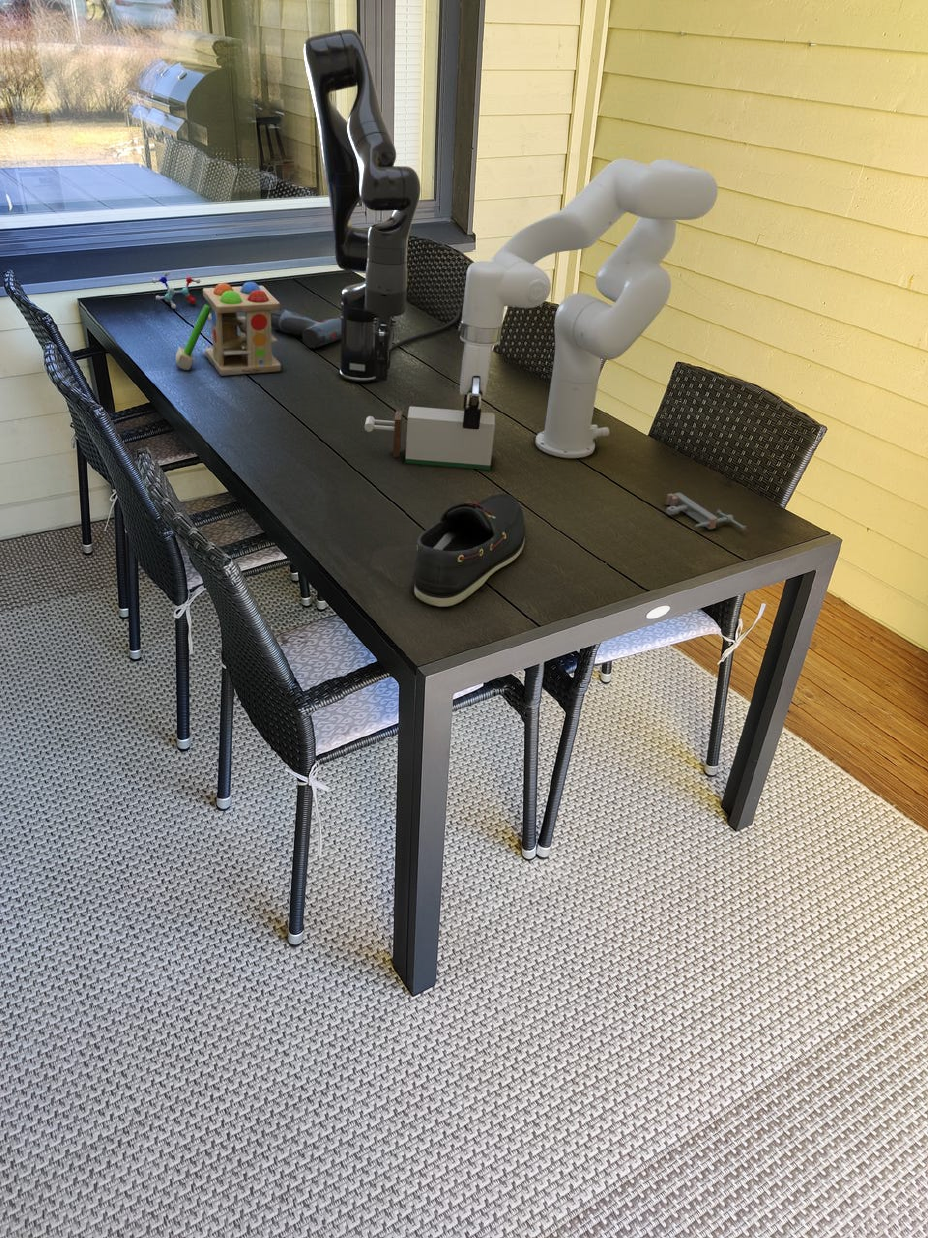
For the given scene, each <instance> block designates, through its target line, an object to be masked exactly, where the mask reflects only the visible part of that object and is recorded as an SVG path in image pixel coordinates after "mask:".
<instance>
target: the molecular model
mask: <svg viewBox="0 0 928 1238" xmlns="http://www.w3.org/2000/svg"><path fill="white" fill-rule="evenodd" d="M163 273H164V275H163V276H161V277H160V278H158V279H156V278H151V282H152V283H153V284H156V283H162V284H164V286H165V287H166V289H167V292H166V294H165V295H163V296H160V295H156V296H155V300H156V301H160V300H165V302H167V303H170V305H171V309H173V310H176V308H177V305H176V304H175V303H174V302H173V300H172V299H173V297H174V296H175V295H176V294H182V295H183V296H185V297H186V298H187V299H188V301H189V303H190V304H191V305H194V304H196V298H194V297H192V295H191V294H190V293H189V289H188V288H189V285H190V284H191V283H196V284H200V283H201V279H200V278H196V279H193V278H192V277H190V276H188V277H186V279H185V281H186V284H185V286H184V287H183V288H181V290H175V289H174V287H170V286H169V284H168V278H167V277H168V276H169V275H170V271H168V270H165V271H163Z"/></svg>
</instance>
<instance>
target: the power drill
mask: <svg viewBox="0 0 928 1238" xmlns="http://www.w3.org/2000/svg"><path fill="white" fill-rule="evenodd" d="M271 328H274V329H276V330H278V331H281V332H284V333H288V334H290V335H296V336H300V337H302V341H303V343H304V344H305V346H306V347H308V348H309V349H316V348H319V347H322V346H325V345H328V344H330V343H333V342H336V341H338V340H341V317H338V318H331V319H324V320H322V321H320V322H319V321H316V320H314V319H312V318H309V317H306V316H304V315H302V314H300V313H297V312H293V311H291V310H288V309H283V308H280V310H271Z"/></svg>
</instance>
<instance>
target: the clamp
mask: <svg viewBox="0 0 928 1238" xmlns="http://www.w3.org/2000/svg"><path fill="white" fill-rule="evenodd" d="M665 505H666V506H667V507H666V509H665V513H666V514H667V515H669V516H673V515H677V514H679V513H680V512H683V513H684V514H685V515H687V516H689V517H690V518H692V519H693V520H695V521H696V522H697V524H695V525H694V527H695V528H703V527H704V528H706V529H708V530H713V529H716V528H717V527H716V525H717V524H719V523H732V524H734V525H736V526H737V527H739V528H740V529H741V531H742V532H743V531H746V529H747V526H746V525H742V524H741V523H739V522H738V521H736V520H735V519H734V516H733V515H732V514H725V513H723V512H722V510H721V509H718V510H717V511H716V515H720V516H721V517H720V518H719V517H717V516H716V515H714V514H712V512H710V511H709V510H707V509H705V508H704V507H702V506H701V505H699V504H698V503H697V502H695V501H693V500H692V499H690V498H689V497H688V496H685V495H684V494H683V493H681V492H675V493H667V496H666V500H665Z"/></svg>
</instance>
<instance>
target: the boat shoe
mask: <svg viewBox="0 0 928 1238" xmlns="http://www.w3.org/2000/svg"><path fill="white" fill-rule="evenodd" d="M523 511H524V510H523V507H521V505H520V503H519V501H518V500H517V499H516V497H514V496H513V495H511V494H508V493H496V494H493V495H490V496H487V497H485V498H483V499H481V500H480V501H478V502H472V501H467V502H465V501H462V502H459V503H456V504H454V505H452V506H450V507H448V508H447V509H446V510H445V511H444V512H443V513H442V514H441V516H440V518H439V519H438V521H437V522H436V523H434V524H433V525H431V526H430V527H428V528H427V529H426V530H424V531H422V533H421V534H420V535H419V536H418V538H417V539H416V541H415V545H414V548H415V549H416V559H415V563H414V570H413V572H412V579H413V580H415V581H414V589H413V591H414V595H415V596H416V598H417V599H418V600H420V601H421V602H424V603H425V604H427V605H430V606H435V607H439V608H443V607H451V606H454V605H457V604H459V603H461V602H462V601H463V600H465V599H467V598H468V597H469V596H471V595H472V594H473V593H474V592H476V591H477V590H478V589H479V588H480V587H482V586H483V585H484V584H485V583H486V581H487V580H488V579H489V578H490V576H492V575H493V574H494V573H495V572H496V571H498V570H499V569H501V568H503V567H505V566H507V565H508V564H510V563H512V562H513V561H515V560H516V559H517V558H518V557H519V556H520V555H521V553H522V551H523V549H524V546H525V541H526V523H525V516H524V512H523Z"/></svg>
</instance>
